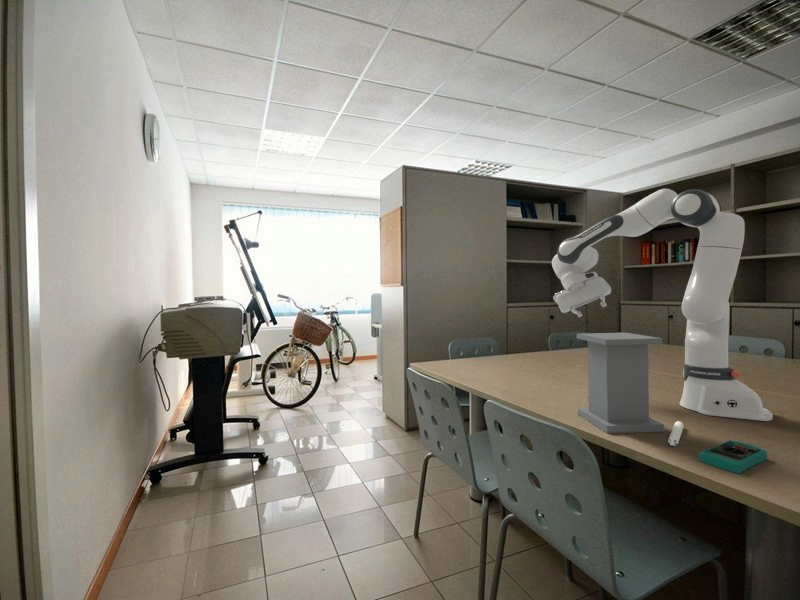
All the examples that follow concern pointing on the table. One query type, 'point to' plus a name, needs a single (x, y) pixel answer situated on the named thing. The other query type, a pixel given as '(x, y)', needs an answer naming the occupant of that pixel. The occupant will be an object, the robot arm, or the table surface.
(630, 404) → the stand
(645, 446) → the table surface
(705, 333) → the robot arm
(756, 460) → the digital multimeter
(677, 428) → the white rod
